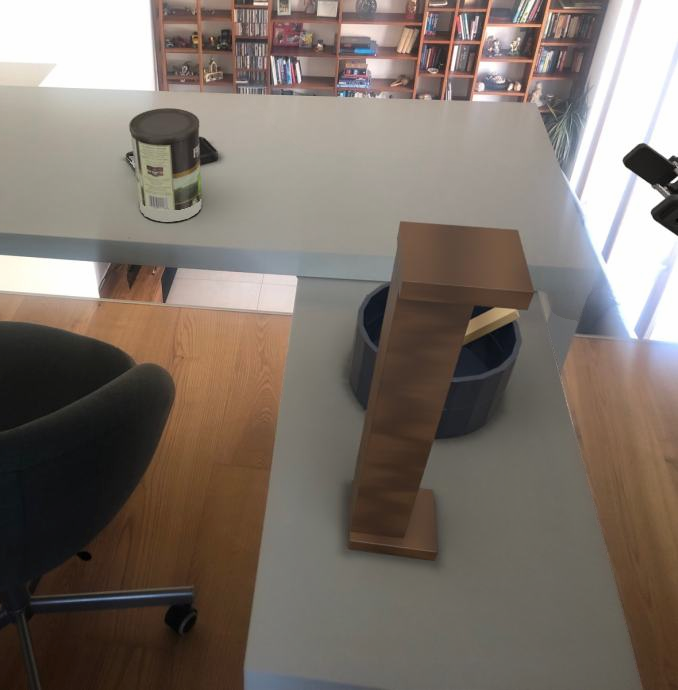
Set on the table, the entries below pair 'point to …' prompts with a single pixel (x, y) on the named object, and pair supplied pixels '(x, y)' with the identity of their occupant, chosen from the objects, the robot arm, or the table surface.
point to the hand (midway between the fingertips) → (645, 177)
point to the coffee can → (167, 158)
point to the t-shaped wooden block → (489, 322)
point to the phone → (206, 152)
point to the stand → (423, 372)
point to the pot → (469, 376)
